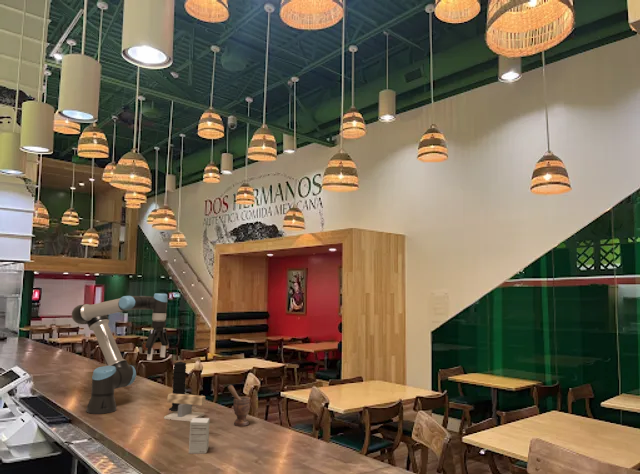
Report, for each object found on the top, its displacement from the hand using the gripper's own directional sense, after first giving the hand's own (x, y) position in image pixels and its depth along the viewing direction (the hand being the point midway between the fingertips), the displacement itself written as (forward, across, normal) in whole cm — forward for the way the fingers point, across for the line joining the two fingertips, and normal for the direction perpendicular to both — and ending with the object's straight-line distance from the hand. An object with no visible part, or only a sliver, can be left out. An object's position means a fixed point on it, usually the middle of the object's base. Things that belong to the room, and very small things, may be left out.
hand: (156, 358), depth 280 cm
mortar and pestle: (+28, -14, -57) cm, 65 cm away
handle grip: (+28, +7, -12) cm, 32 cm away
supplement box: (+28, -58, -57) cm, 86 cm away
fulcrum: (+28, -8, -24) cm, 38 cm away
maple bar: (+21, -8, -24) cm, 33 cm away
